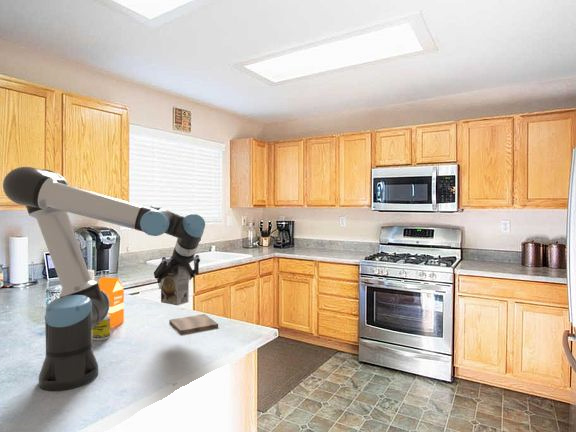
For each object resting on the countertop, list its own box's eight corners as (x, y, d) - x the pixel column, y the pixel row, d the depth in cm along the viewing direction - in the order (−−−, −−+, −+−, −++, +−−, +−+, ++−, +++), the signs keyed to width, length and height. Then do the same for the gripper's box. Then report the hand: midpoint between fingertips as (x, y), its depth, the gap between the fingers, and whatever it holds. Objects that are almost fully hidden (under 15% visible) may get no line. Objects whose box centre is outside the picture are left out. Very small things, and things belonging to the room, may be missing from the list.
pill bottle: (90, 341, 137) (90, 312, 136) (94, 335, 142) (94, 307, 142) (108, 340, 138) (108, 311, 138) (111, 334, 144) (111, 306, 144)
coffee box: (160, 302, 142) (160, 261, 141) (172, 299, 148) (172, 259, 147) (177, 306, 137) (177, 263, 137) (189, 302, 143) (189, 261, 143)
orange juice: (112, 327, 153) (112, 279, 152) (93, 325, 154) (93, 278, 154) (124, 321, 160) (124, 276, 160) (106, 320, 162) (106, 275, 161)
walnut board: (180, 334, 145) (180, 330, 145) (169, 323, 159) (169, 319, 159) (218, 327, 154) (218, 323, 154) (204, 317, 167) (204, 314, 167)
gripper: (155, 259, 123) (145, 296, 137) (216, 255, 135) (201, 289, 149) (151, 242, 127) (141, 279, 141) (211, 240, 140) (197, 274, 153)
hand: (172, 284), depth 145 cm, fingers closed on coffee box, 9 cm apart
